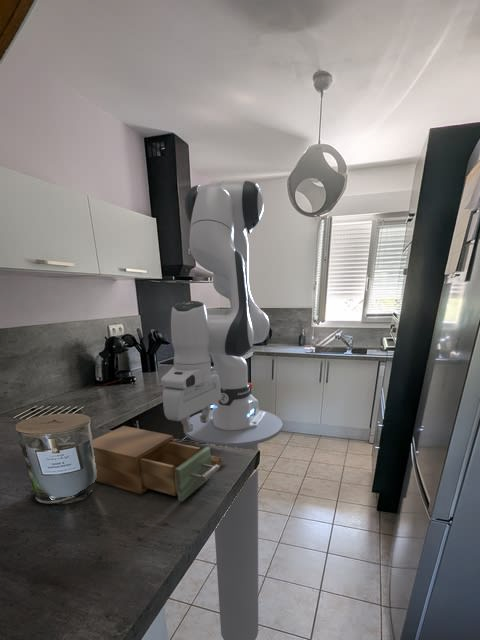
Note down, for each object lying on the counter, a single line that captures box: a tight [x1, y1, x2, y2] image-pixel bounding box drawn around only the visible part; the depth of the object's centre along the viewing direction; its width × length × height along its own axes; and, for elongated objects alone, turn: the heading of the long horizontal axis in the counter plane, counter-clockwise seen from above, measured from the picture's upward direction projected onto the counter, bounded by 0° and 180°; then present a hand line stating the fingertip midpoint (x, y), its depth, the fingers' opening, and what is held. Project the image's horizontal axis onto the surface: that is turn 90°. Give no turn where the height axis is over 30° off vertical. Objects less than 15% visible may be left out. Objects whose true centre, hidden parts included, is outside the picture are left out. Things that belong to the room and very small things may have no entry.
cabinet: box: [91, 425, 175, 495], centre depth 89 cm, size 17×14×10 cm
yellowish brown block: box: [211, 455, 222, 469], centre depth 95 cm, size 8×2×3 cm, turn 64°
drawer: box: [138, 441, 220, 502], centre depth 84 cm, size 20×12×8 cm, turn 64°
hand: (196, 426), depth 91 cm, fingers open, 6 cm apart
